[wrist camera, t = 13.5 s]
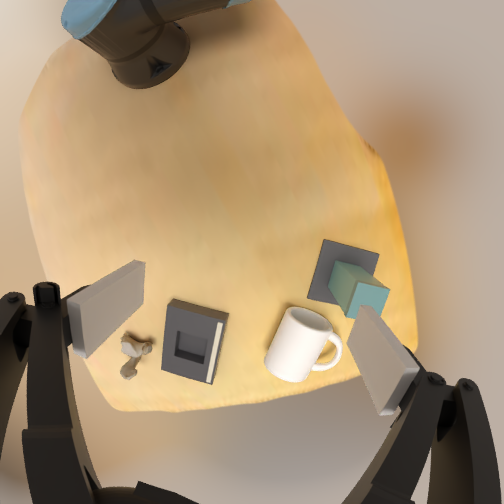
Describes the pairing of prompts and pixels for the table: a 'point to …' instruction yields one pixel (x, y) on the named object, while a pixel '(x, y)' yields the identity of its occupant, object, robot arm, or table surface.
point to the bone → (133, 355)
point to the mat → (326, 263)
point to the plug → (356, 289)
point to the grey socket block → (192, 340)
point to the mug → (300, 345)
